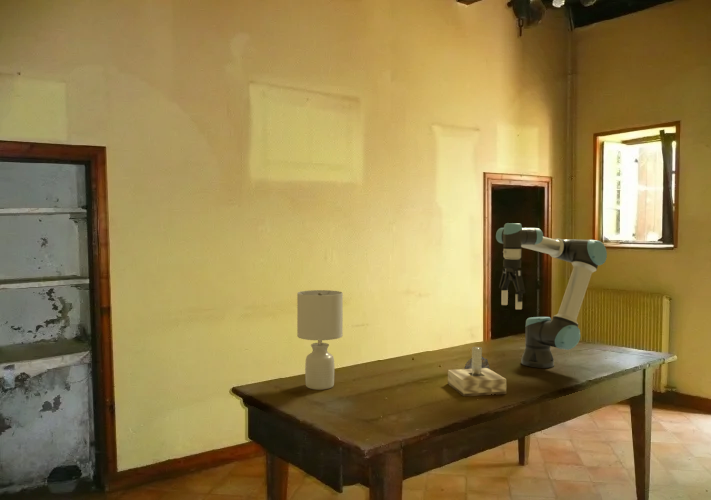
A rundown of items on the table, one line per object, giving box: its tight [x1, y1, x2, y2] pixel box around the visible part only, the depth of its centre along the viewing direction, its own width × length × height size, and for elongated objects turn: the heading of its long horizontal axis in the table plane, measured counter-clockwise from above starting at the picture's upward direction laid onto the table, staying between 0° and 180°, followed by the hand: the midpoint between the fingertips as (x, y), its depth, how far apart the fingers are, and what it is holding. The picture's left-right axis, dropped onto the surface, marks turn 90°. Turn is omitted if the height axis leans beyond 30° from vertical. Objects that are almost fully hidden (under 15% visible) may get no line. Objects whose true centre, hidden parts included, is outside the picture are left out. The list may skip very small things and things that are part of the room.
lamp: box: [296, 289, 344, 391], centre depth 239 cm, size 19×19×39 cm
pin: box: [471, 346, 483, 376], centre depth 237 cm, size 4×4×16 cm
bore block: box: [447, 368, 507, 397], centre depth 237 cm, size 18×18×6 cm
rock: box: [464, 356, 491, 370], centre depth 260 cm, size 11×10×10 cm
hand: (511, 307), depth 252 cm, fingers open, 13 cm apart
